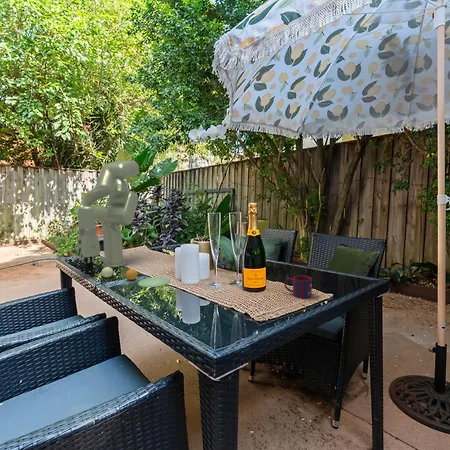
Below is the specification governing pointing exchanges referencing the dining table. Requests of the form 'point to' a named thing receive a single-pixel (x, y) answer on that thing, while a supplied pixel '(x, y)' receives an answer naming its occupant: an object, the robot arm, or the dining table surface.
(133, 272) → the orange ball
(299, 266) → the dining table surface
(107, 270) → the ivory ball
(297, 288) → the mug
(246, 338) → the dining table surface
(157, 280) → the mint mark
